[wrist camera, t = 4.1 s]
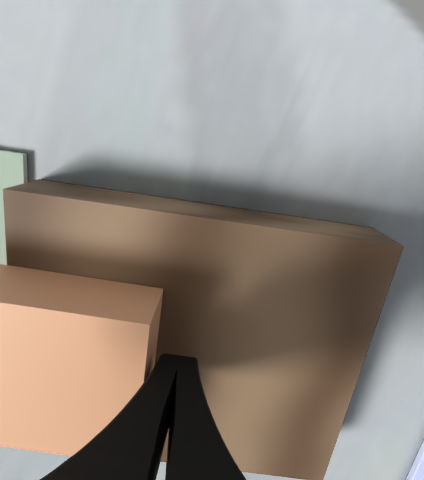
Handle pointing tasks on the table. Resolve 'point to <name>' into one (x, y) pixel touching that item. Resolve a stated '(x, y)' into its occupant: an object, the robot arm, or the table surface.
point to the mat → (7, 175)
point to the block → (70, 355)
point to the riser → (229, 303)
